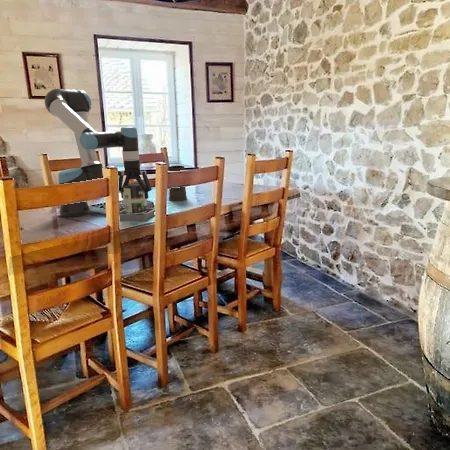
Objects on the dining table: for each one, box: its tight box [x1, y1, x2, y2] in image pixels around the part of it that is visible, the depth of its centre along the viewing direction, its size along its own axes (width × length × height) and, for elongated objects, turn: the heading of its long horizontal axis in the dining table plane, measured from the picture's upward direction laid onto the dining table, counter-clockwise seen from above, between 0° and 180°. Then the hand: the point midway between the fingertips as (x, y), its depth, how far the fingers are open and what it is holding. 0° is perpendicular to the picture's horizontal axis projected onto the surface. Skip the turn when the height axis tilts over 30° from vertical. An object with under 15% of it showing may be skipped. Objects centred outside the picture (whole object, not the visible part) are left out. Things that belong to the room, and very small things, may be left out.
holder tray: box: [119, 207, 156, 222], centre depth 195 cm, size 16×16×3 cm
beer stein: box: [167, 165, 188, 202], centre depth 236 cm, size 15×11×20 cm
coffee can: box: [122, 182, 147, 215], centre depth 193 cm, size 10×10×14 cm
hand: (135, 205), depth 194 cm, fingers closed on coffee can, 10 cm apart
